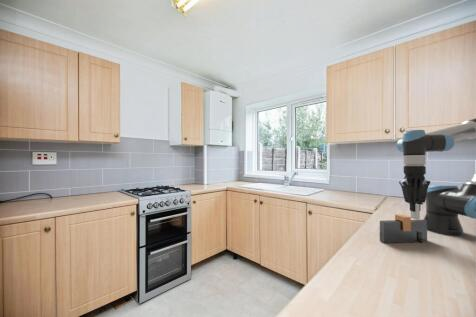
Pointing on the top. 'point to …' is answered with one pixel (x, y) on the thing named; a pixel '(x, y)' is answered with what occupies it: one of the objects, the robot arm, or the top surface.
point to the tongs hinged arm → (398, 232)
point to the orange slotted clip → (404, 221)
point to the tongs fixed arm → (420, 230)
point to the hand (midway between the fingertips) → (415, 218)
